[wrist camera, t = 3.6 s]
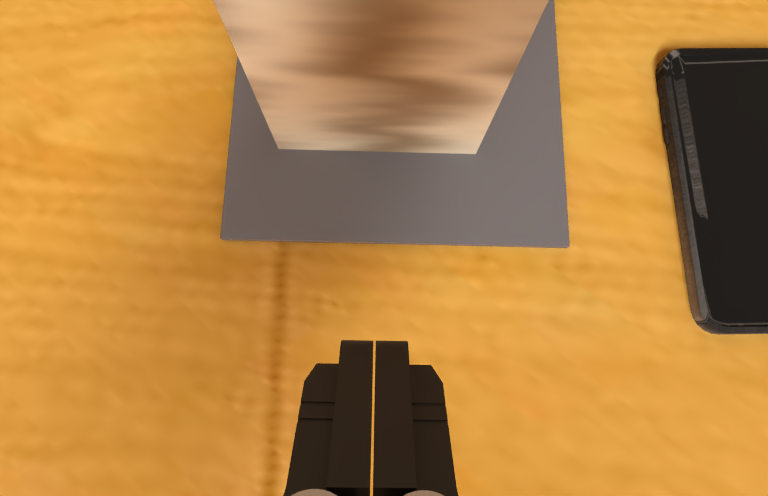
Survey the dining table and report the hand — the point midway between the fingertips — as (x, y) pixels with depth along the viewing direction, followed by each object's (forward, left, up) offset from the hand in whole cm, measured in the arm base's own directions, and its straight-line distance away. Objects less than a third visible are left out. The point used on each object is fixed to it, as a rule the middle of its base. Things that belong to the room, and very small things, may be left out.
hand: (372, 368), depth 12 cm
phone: (-19, -9, -13) cm, 25 cm away
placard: (0, -11, -12) cm, 17 cm away
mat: (-1, -16, -13) cm, 21 cm away
